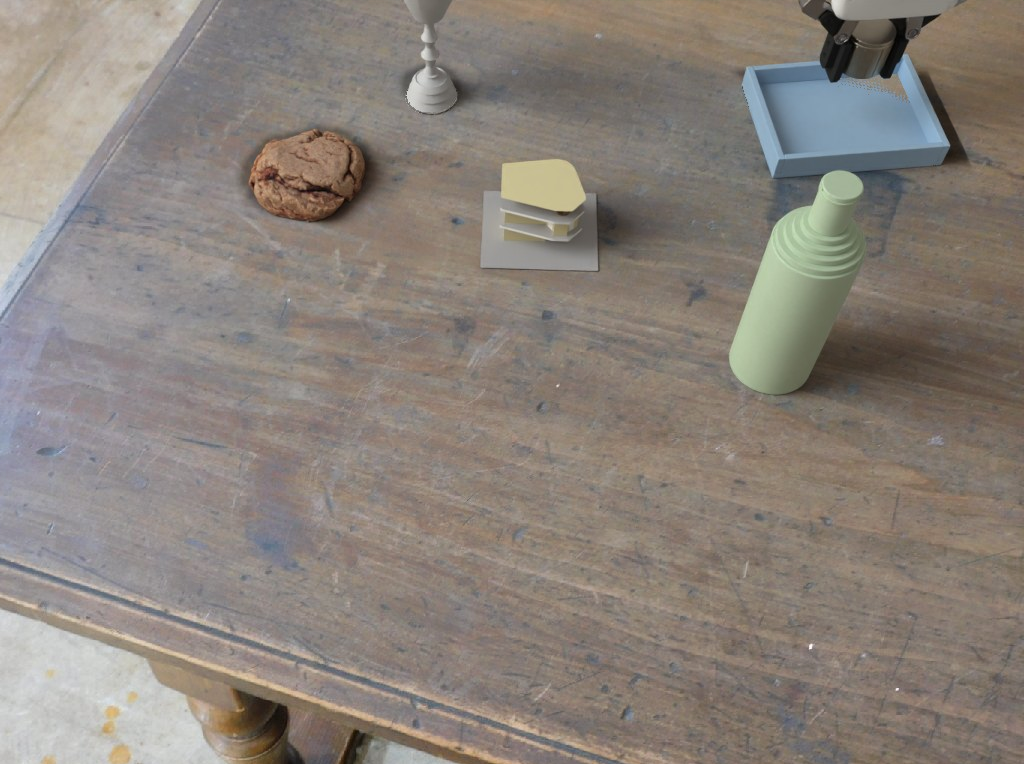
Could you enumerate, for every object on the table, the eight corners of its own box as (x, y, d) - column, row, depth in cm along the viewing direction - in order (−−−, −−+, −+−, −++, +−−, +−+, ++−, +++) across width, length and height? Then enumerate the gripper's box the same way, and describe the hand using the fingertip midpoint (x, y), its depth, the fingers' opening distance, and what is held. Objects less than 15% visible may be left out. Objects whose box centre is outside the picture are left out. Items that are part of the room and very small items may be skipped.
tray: (899, 73, 103) (908, 53, 101) (940, 165, 96) (950, 145, 94) (741, 86, 102) (746, 66, 100) (772, 178, 96) (778, 159, 94)
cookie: (388, 176, 98) (386, 151, 95) (303, 242, 94) (299, 218, 91) (313, 125, 101) (309, 100, 99) (228, 187, 98) (222, 162, 95)
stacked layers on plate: (480, 268, 92) (481, 223, 87) (483, 191, 96) (484, 144, 92) (598, 271, 91) (605, 226, 87) (596, 193, 96) (603, 147, 91)
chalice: (468, 121, 101) (468, -54, 86) (395, 124, 101) (383, -51, 86) (466, 69, 105) (466, -108, 89) (396, 71, 105) (384, -105, 90)
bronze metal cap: (835, 46, 95) (848, 10, 91) (881, 51, 94) (896, 16, 91) (834, 77, 93) (848, 42, 90) (881, 82, 92) (897, 47, 89)
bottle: (799, 326, 88) (877, 145, 71) (820, 391, 84) (907, 217, 68) (720, 333, 87) (781, 152, 71) (738, 398, 84) (806, 225, 67)
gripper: (837, -97, 76) (771, 106, 92) (1068, -112, 77) (963, 93, 92) (809, -157, 80) (750, 48, 96) (1030, -171, 81) (935, 35, 96)
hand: (855, 68), depth 94 cm, fingers closed on bronze metal cap, 3 cm apart
